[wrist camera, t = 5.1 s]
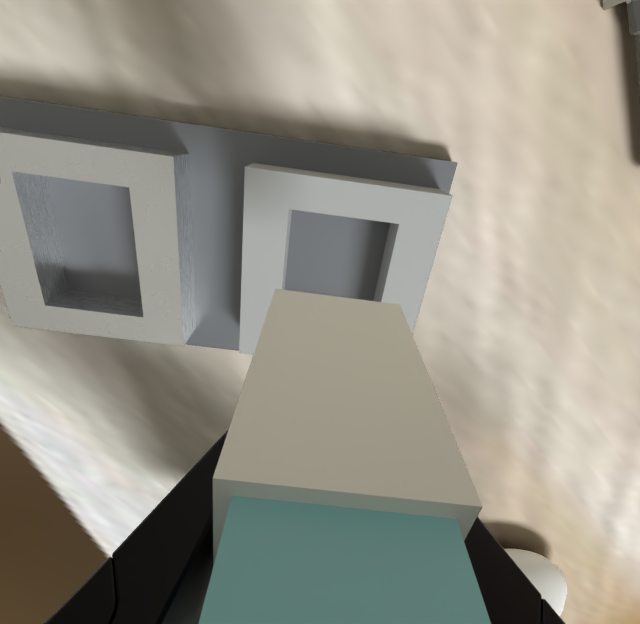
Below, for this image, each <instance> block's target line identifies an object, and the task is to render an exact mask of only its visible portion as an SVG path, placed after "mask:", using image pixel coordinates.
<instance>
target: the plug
mask: <svg viewBox="0 0 640 624" xmlns="http://www.w3.org/2000/svg"><path fill="white" fill-rule="evenodd" d="M481 508H482V505H481V502H480V500H479V497H478V495H477V492H476V490H475V487H474V485H473V482H472V480H471V478H470V475H469V473H468V470H467V468H466V465H465V463H464V460H463V458H462V456H461V453H460V451H459V448H458V446H457V443H456V441H455V438H454V436H453V433H452V431H451V429H450V426H449V424H448V421H447V419H446V416H445V414H444V411H443V409H442V406H441V404H440V402H439V399H438V397H437V394H436V392H435V389H434V387H433V384H432V382H431V380H430V377H429V375H428V372H427V370H426V367H425V365H424V362H423V360H422V357H421V355H420V353H419V350H418V348H417V345H416V343H415V340H414V338H413V335H412V333H411V331H410V328H409V326H408V323H407V321H406V318H405V316H404V313H403V311H402V308H401V306H400V305H399V304H391V303H384V302H376V301H368V300H360V299H353V298H345V297H337V296H329V295H322V294H314V293H306V292H299V291H291V290H283V289H275V291H274V294H273V297H272V300H271V303H270V306H269V309H268V312H267V315H266V318H265V321H264V324H263V327H262V330H261V333H260V336H259V339H258V342H257V345H256V348H255V351H254V355H253V358H252V361H251V364H250V367H249V370H248V373H247V376H246V379H245V382H244V385H243V388H242V391H241V394H240V397H239V400H238V403H237V406H236V409H235V412H234V415H233V418H232V421H231V424H230V427H229V430H228V433H227V436H226V439H225V442H224V445H223V448H222V451H221V454H220V457H219V460H218V463H217V466H216V470H215V473H214V476H213V570H212V574H211V578H210V582H209V586H208V589H207V593H206V597H205V601H204V605H203V608H202V612H201V616H200V620H199V624H491V622H490V619H489V616H488V613H487V610H486V607H485V604H484V601H483V598H482V595H481V591H480V588H479V585H478V582H477V579H476V576H475V573H474V570H473V567H472V564H471V561H470V558H469V555H468V552H467V549H466V546H465V543H464V540H465V538H466V536H467V535H468V533H469V531H470V529H471V527H472V525H473V523H474V522H475V520H476V518H477V516H478V514H479V512H480V510H481Z"/></svg>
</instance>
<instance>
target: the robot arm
mask: <svg viewBox="0 0 640 624" xmlns="http://www.w3.org/2000/svg"><path fill="white" fill-rule="evenodd" d="M228 430H229V429H228ZM228 430H227V431H226V433H225V434H224V435H223V436H222V437H221V438H220V439H219V440H218V441H217V442H216V443H215V444H214V445H213V446H212V448H211V449H210V450H209V451H208V452H207V453H206V454H205V455H204V456H203V457H202V458H201V459H200V460H199V461H198V463H197V464H196V465H195V466H194V467H193V468H192V469H191V470H190V471H189V472H188V473H187V474H186V475H185V476H184V478H183V479H182V480H181V481H180V482H179V483H178V484H177V485H176V486H175V487H174V488H173V489H172V490H171V491H170V493H169V494H168V495H167V496H166V497H165V498H164V499H163V500H162V501H161V502H160V503H159V504H158V505H157V506H156V508H155V509H154V510H153V511H152V512H151V513H150V514H149V515H148V516H147V517H146V518H145V519H144V520H143V521H142V522H141V524H140V525H139V526H138V527H137V528H136V529H135V530H134V531H133V532H132V533H131V534H130V535H129V536H128V537H127V539H126V540H125V541H124V542H123V543H122V544H121V545H120V546H119V547H118V548H117V549H116V550H115V551H114V552H113V554H112V557H109V558H108V559H107V560H106V561H105V562H104V563H103V564H102V565H101V566H100V567H99V568H98V569H97V570H96V572H95V573H94V574H93V575H92V576H91V577H90V578H89V579H88V580H87V581H86V582H85V583H84V584H83V585H82V586H81V587H80V588H79V589H78V590H77V591H76V592H75V593H74V594H73V596H71V597H70V599H68V601H67V602H66V603H65V604H64V605H63V606H62V607H61V608H60V609H59V610H58V611H57V612H56V613H55V614H53V615H52V617H50V618H49V619H48V620H47V621H46V622H45V623H44V624H199V620H200V616H201V612H202V608H203V605H204V601H205V597H206V593H207V589H208V586H209V582H210V578H211V574H212V570H213V476H214V473H215V470H216V466H217V463H218V460H219V457H220V454H221V451H222V448H223V445H224V442H225V439H226V436H227V433H228ZM464 543H465V546H466V549H467V552H468V555H469V558H470V561H471V564H472V567H473V570H474V573H475V576H476V579H477V582H478V585H479V588H480V591H481V595H482V598H483V601H484V604H485V607H486V610H487V613H488V616H489V619H490V622H491V624H565V623H564V621H563V620H562V619H561V618H560V616H559V615H558V614H557V613H556V612H555V610H554V609H553V608H552V607H551V605H550V604H549V603H548V602H547V601H546V600H545V599H542V596H541V594H540V592H539V591H538V590H537V589H536V587H535V586H534V585H533V584H532V583H531V581H530V580H529V579H528V578H527V576H526V575H525V574H524V573H523V572H522V570H521V569H520V568H519V567H518V565H517V564H516V563H515V562H514V561H513V559H512V558H511V557H510V556H509V554H508V553H507V552H506V551H505V550H504V548H503V547H502V546H501V545H500V543H499V542H498V541H497V540H496V539H495V537H494V536H493V535H492V534H491V532H490V531H489V530H488V529H487V528H486V526H485V525H484V524H483V523H482V521H481V520H480V519H479V518H478V517H477V518H476V520H475V522H474V523H473V525H472V527H471V529H470V531H469V533H468V535H467V536H466V538H465V540H464ZM112 558H113V559H112Z"/></svg>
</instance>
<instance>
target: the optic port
mask: <svg viewBox="0 0 640 624" xmlns="http://www.w3.org/2000/svg"><path fill="white" fill-rule="evenodd" d="M46 176H49V177H57V178H64V179H71V180H79V181H86V182H93V183H101V184H108V185H116V186H123V187H129V190H130V199H131V209H132V218H133V227H134V236H135V245H136V254H137V263H138V272H139V281H140V290H141V299H140V298H132V297H123V296H115V295H107V294H99V293H91V292H83V291H75V290H70V287H69V282H68V278H67V273H66V268H65V263H64V259H63V254H62V249H61V244H60V239H59V235H58V230H57V225H56V220H55V216H54V211H53V206H52V201H51V196H50V192H49V187H48V182H47V177H46ZM0 286H1V289H2V292H3V296H4V299H5V302H6V306H7V309H8V312H9V315H10V319H11V322H12V325H13V326H17V327H25V328H34V329H42V330H51V331H59V332H67V333H76V334H84V335H93V336H101V337H110V338H118V339H127V340H135V341H143V342H152V343H160V344H169V345H177V346H184V345H185V343H186V342H187V340H188V339H189V337H190V336H191V334H192V333H193V331H194V330H195V328H196V319H195V290H194V261H193V232H192V204H191V175H190V154H188V153H181V152H174V151H166V150H159V149H152V148H145V147H138V146H131V145H124V144H117V143H110V142H103V141H95V140H88V139H81V138H74V137H67V136H60V135H53V134H46V133H39V132H31V131H24V130H17V129H10V128H3V127H0Z"/></svg>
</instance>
